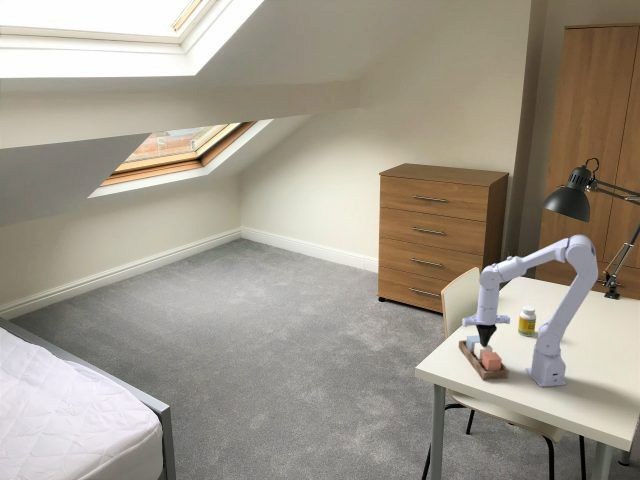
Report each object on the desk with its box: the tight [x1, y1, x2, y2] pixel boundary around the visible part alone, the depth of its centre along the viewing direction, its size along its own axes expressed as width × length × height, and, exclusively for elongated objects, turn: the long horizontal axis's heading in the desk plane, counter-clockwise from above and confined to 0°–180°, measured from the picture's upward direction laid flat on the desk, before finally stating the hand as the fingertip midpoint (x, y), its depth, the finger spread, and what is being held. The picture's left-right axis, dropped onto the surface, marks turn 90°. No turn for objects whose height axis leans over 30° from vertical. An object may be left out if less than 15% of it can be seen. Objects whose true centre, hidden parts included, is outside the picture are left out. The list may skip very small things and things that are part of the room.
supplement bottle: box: [517, 305, 537, 337], centre depth 183 cm, size 5×5×10 cm
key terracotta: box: [481, 351, 503, 371], centre depth 159 cm, size 4×4×4 cm
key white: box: [474, 343, 493, 360], centre depth 165 cm, size 4×4×4 cm
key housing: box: [458, 339, 510, 381], centre depth 166 cm, size 19×8×2 cm, turn 7°
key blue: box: [466, 334, 480, 350], centre depth 171 cm, size 4×4×4 cm
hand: (483, 344), depth 165 cm, fingers closed
